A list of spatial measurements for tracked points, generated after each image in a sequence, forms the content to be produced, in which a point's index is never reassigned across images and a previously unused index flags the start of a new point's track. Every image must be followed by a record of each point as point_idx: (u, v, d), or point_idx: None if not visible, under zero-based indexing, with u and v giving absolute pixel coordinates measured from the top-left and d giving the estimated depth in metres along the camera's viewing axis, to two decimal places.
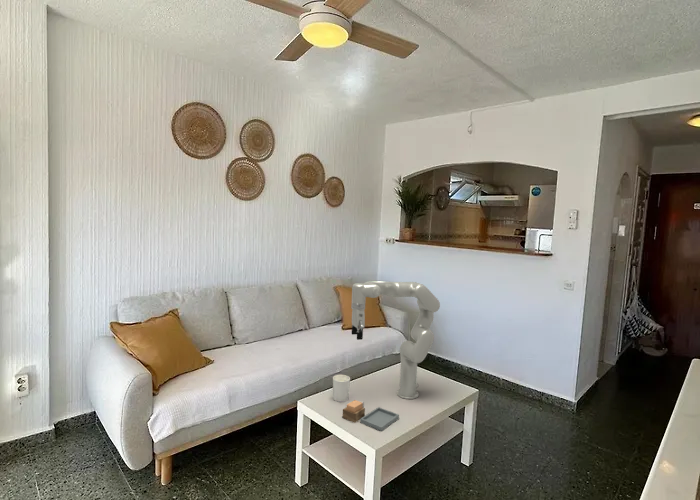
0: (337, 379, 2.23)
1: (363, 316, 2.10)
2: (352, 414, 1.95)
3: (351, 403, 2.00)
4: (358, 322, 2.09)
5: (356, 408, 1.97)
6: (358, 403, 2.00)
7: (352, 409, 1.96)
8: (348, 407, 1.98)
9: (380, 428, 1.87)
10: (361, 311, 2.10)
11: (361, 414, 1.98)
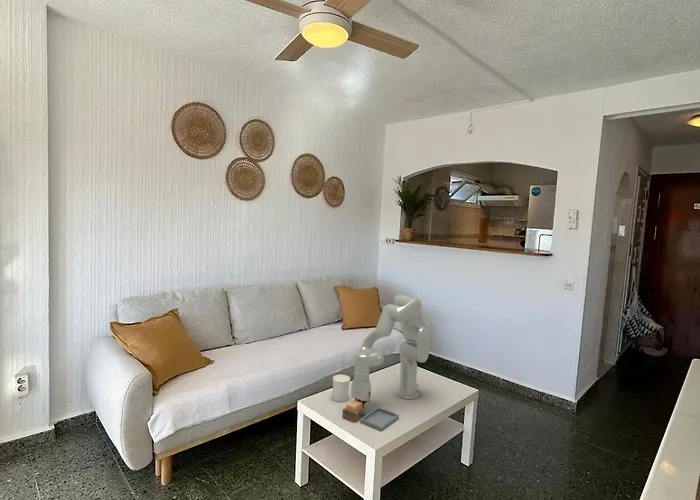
0: (337, 379, 2.23)
1: None
2: (352, 414, 1.95)
3: (351, 403, 2.00)
4: None
5: (356, 408, 1.97)
6: (358, 403, 2.00)
7: (352, 409, 1.96)
8: (348, 407, 1.98)
9: (380, 428, 1.87)
10: None
11: (361, 414, 1.98)
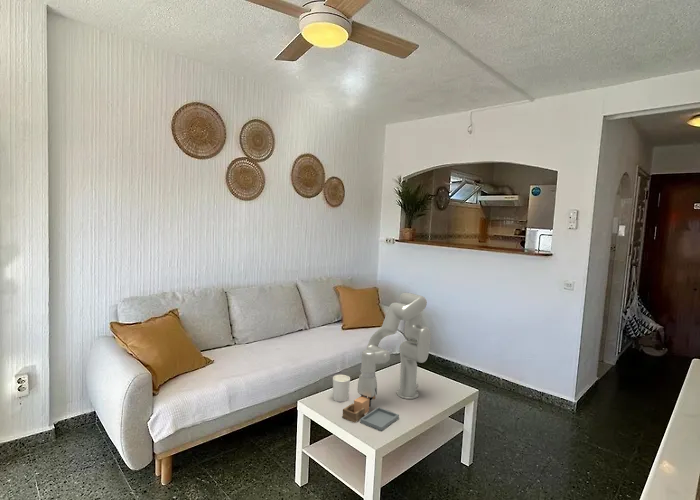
0: (337, 379, 2.23)
1: None
2: (352, 414, 1.95)
3: (358, 399, 2.05)
4: None
5: (363, 404, 2.02)
6: (365, 399, 2.05)
7: (359, 404, 2.01)
8: (355, 403, 2.03)
9: (380, 428, 1.87)
10: None
11: (361, 414, 1.98)
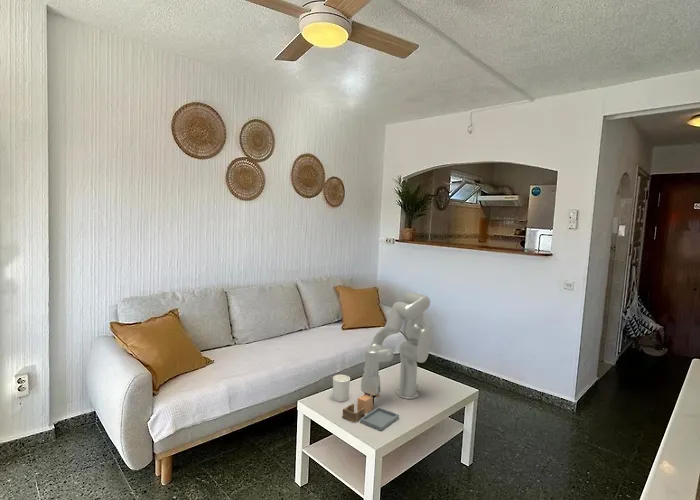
0: (337, 379, 2.23)
1: None
2: (352, 414, 1.95)
3: (361, 397, 2.07)
4: None
5: (367, 402, 2.04)
6: (368, 397, 2.08)
7: (363, 402, 2.04)
8: (359, 400, 2.05)
9: (380, 428, 1.87)
10: None
11: (361, 414, 1.98)
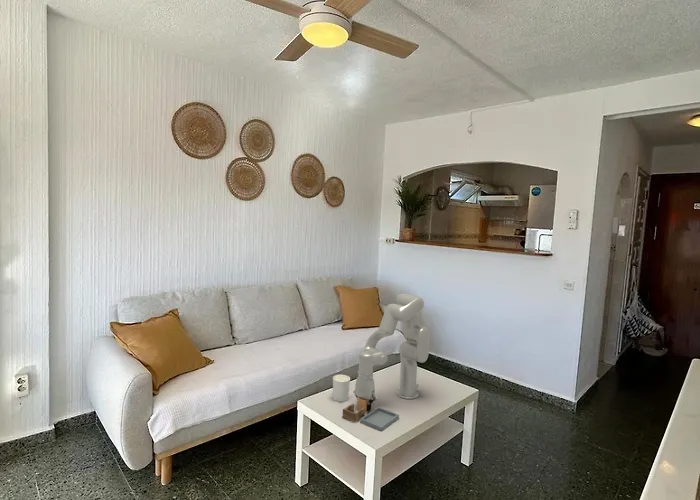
0: (337, 379, 2.23)
1: None
2: (352, 414, 1.95)
3: None
4: None
5: (366, 402, 2.04)
6: None
7: (363, 402, 2.04)
8: (359, 401, 2.05)
9: (380, 428, 1.87)
10: None
11: (361, 414, 1.98)
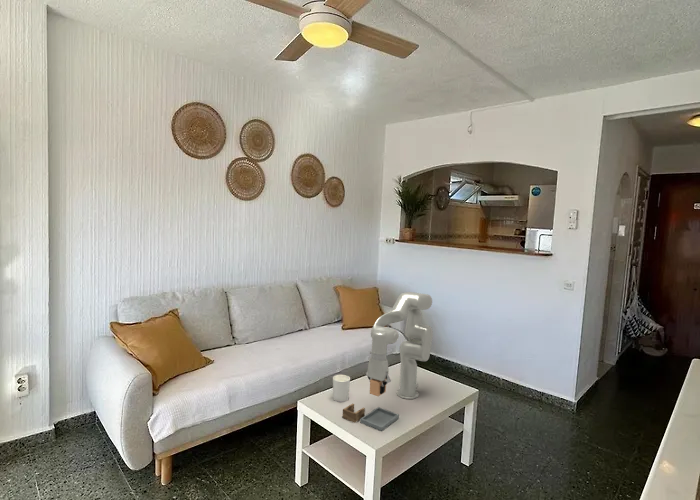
0: (337, 379, 2.23)
1: None
2: (352, 414, 1.95)
3: (374, 379, 1.95)
4: None
5: (380, 384, 1.92)
6: None
7: (376, 384, 1.92)
8: (372, 382, 1.94)
9: (380, 428, 1.87)
10: None
11: (361, 414, 1.98)
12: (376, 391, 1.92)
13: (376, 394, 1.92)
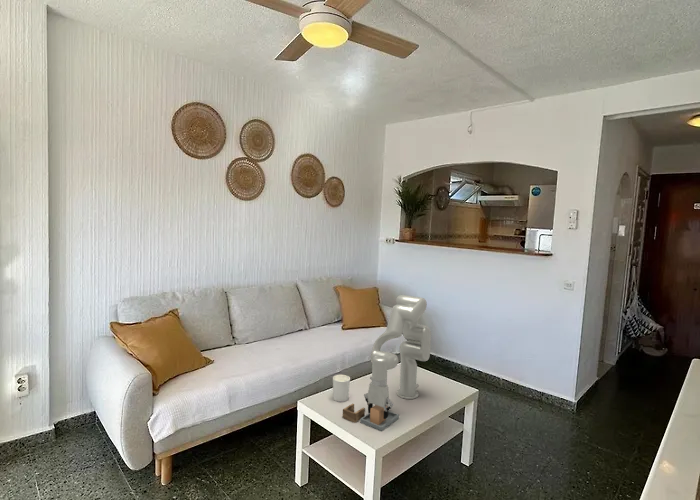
0: (337, 379, 2.23)
1: None
2: (352, 414, 1.95)
3: (375, 407, 1.95)
4: None
5: (380, 412, 1.93)
6: (382, 407, 1.96)
7: (376, 413, 1.92)
8: (372, 411, 1.94)
9: (380, 428, 1.87)
10: None
11: (361, 414, 1.98)
12: (376, 419, 1.92)
13: (376, 423, 1.92)
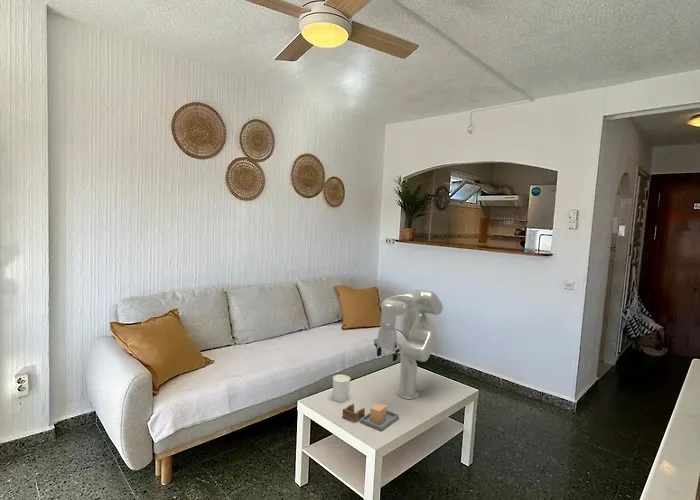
0: (337, 379, 2.23)
1: None
2: (352, 414, 1.95)
3: (375, 407, 1.95)
4: None
5: (380, 412, 1.93)
6: (382, 407, 1.96)
7: (376, 413, 1.92)
8: (372, 411, 1.94)
9: (380, 428, 1.87)
10: None
11: (361, 414, 1.98)
12: (376, 419, 1.92)
13: (376, 423, 1.92)
